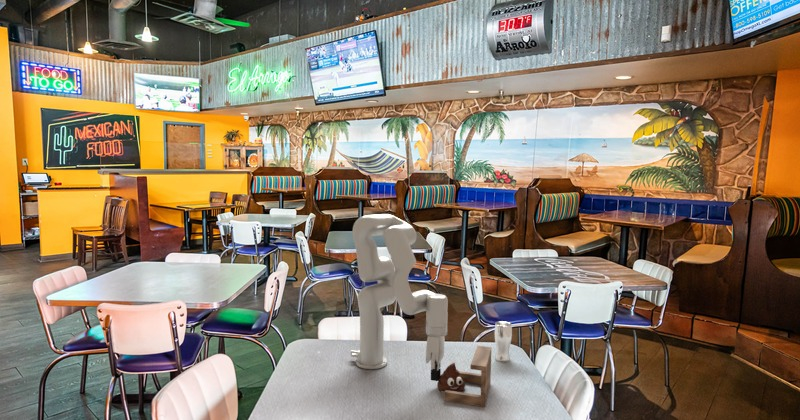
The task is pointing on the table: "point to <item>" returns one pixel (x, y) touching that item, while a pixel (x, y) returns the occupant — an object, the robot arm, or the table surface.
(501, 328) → the white cylindrical piece
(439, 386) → the poop emoji
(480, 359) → the cubby
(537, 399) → the table surface
